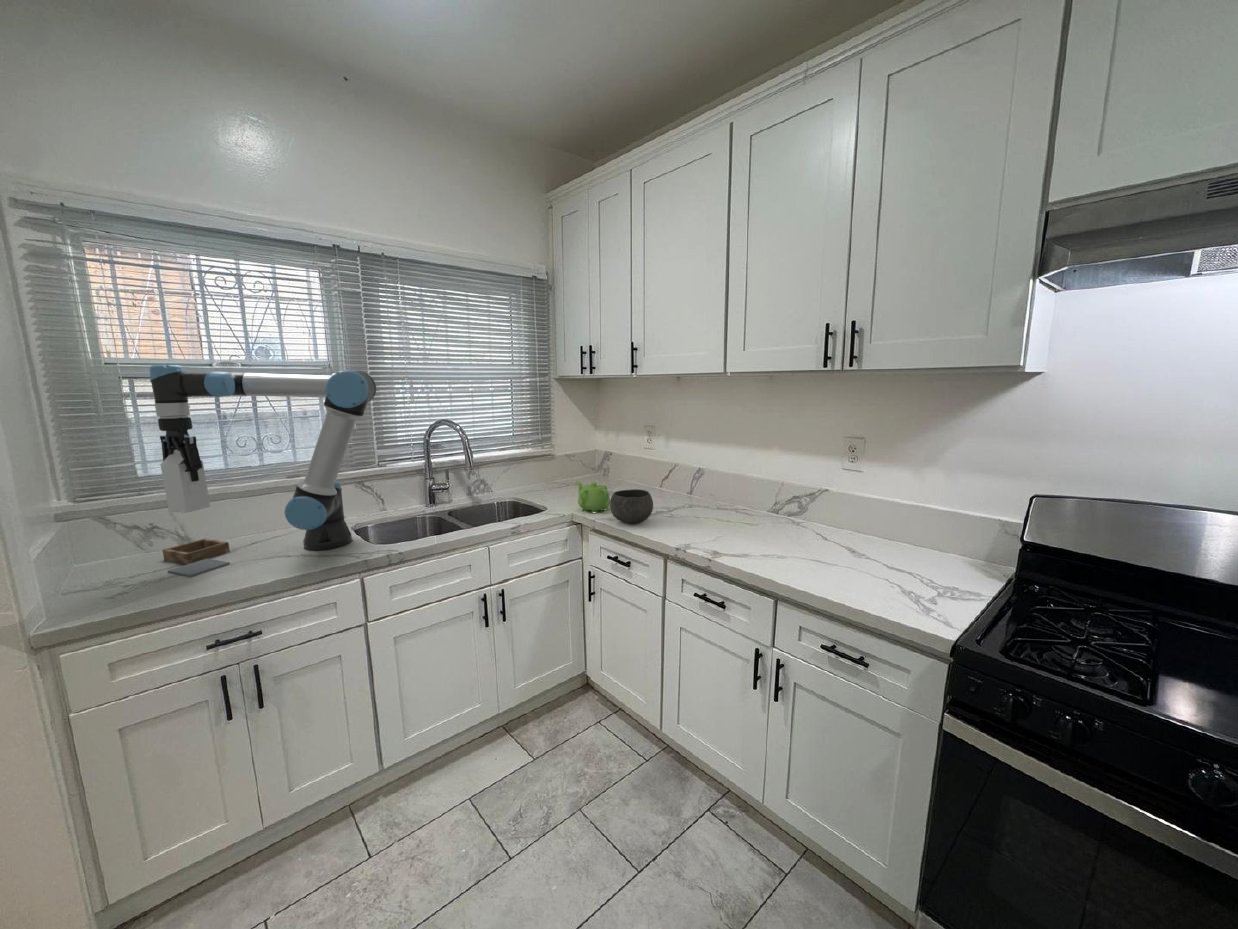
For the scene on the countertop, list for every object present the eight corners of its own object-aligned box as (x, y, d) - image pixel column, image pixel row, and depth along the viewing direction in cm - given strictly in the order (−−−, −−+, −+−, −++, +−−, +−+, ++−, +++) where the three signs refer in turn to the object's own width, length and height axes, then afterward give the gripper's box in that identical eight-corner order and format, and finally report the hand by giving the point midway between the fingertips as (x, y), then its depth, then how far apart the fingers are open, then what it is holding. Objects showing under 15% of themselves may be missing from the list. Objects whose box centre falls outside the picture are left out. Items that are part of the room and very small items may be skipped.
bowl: (628, 531, 189) (628, 500, 187) (601, 521, 203) (600, 491, 201) (662, 523, 200) (662, 493, 198) (633, 513, 214) (633, 485, 212)
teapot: (572, 514, 214) (572, 486, 212) (576, 505, 228) (576, 479, 226) (609, 514, 213) (609, 486, 211) (611, 505, 227) (610, 479, 225)
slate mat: (229, 564, 157) (229, 562, 157) (190, 577, 147) (190, 575, 147) (207, 560, 161) (207, 558, 161) (167, 572, 151) (167, 570, 151)
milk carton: (186, 513, 148) (175, 451, 145) (168, 512, 150) (157, 451, 146) (210, 507, 155) (201, 448, 151) (193, 506, 156) (183, 447, 153)
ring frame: (229, 551, 169) (228, 542, 168) (188, 564, 157) (186, 554, 157) (206, 547, 173) (204, 538, 172) (164, 560, 161) (162, 550, 161)
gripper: (209, 416, 147) (221, 490, 151) (169, 415, 154) (181, 485, 158) (179, 418, 140) (192, 495, 144) (139, 417, 147) (152, 490, 151)
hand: (186, 490), depth 151 cm, fingers closed on milk carton, 8 cm apart
